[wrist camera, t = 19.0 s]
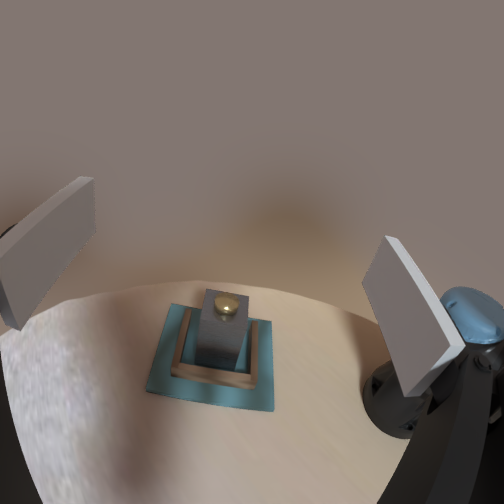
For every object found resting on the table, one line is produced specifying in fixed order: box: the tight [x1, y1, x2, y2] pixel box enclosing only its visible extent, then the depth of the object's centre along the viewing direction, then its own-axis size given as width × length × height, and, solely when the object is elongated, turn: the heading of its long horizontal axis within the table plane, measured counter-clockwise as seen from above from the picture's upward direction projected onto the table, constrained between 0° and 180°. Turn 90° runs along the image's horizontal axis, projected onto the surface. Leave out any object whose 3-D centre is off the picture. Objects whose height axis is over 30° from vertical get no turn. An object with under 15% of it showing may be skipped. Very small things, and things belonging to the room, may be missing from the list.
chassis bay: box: [146, 304, 274, 412], centre depth 44 cm, size 18×18×3 cm
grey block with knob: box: [194, 289, 249, 371], centre depth 42 cm, size 6×6×11 cm
